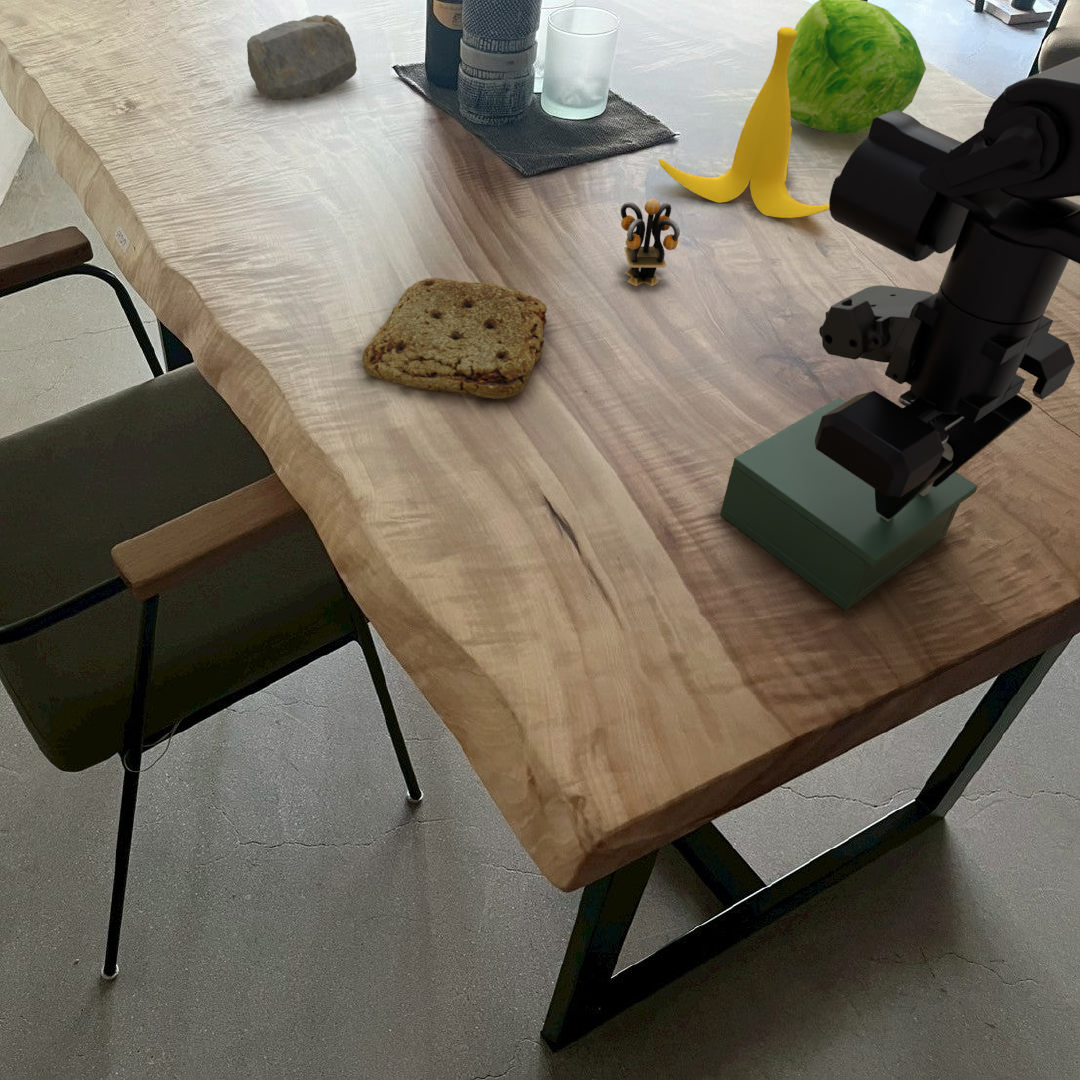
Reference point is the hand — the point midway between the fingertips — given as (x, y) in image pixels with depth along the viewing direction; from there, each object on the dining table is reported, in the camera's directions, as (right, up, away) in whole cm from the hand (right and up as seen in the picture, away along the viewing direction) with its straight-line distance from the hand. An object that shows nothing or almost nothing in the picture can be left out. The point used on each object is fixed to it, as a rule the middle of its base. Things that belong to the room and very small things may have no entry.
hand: (907, 498), depth 70 cm
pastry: (-31, +14, +20) cm, 39 cm away
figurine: (-15, +22, +29) cm, 39 cm away
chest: (-3, -2, +7) cm, 8 cm away
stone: (-52, +51, +54) cm, 91 cm away
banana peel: (0, +33, +41) cm, 53 cm away
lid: (-3, +1, +3) cm, 4 cm away
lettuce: (+10, +47, +56) cm, 74 cm away
